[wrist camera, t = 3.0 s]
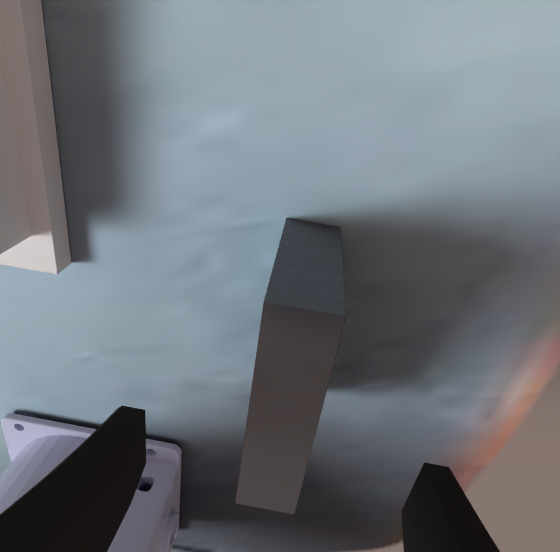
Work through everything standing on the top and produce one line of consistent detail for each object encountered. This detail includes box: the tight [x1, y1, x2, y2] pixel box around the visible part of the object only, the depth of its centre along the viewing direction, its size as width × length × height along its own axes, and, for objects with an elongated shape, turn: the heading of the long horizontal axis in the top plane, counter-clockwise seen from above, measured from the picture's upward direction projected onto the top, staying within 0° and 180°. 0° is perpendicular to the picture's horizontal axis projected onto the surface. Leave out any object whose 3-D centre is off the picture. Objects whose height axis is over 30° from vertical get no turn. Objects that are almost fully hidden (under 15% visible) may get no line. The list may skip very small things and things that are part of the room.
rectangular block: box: [235, 218, 346, 514], centre depth 14 cm, size 2×8×6 cm, turn 172°
